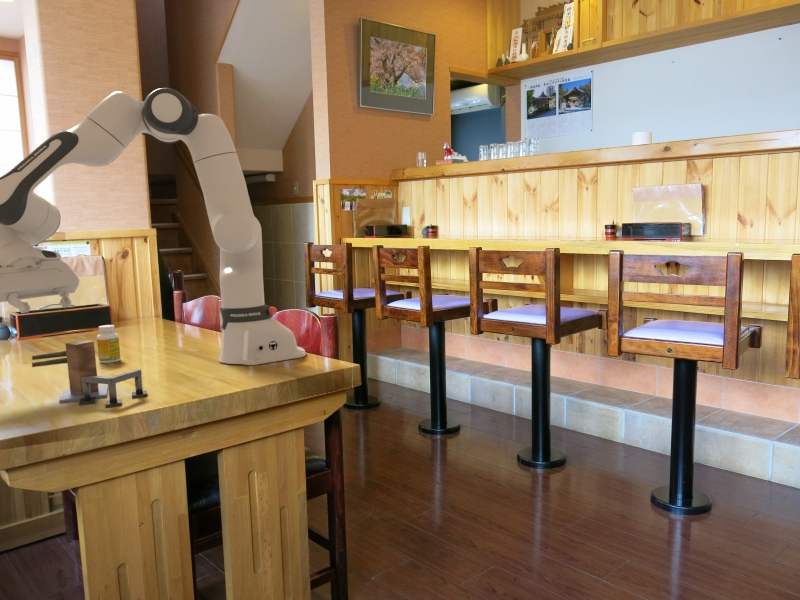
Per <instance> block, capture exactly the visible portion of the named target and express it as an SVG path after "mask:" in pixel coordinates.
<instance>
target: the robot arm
mask: <svg viewBox="0 0 800 600" xmlns="http://www.w3.org/2000/svg"><path fill="white" fill-rule="evenodd" d="M139 135H143V136H145V137H147V138H150V139H152V140H155V141H156V142H160V143H161V144H166V145H167V144H176V143H179V142H180V141H182V142H183V143H184V144H185V145H186V146H187V148H188V151H189V152H190V155H191V158H192V163H193V165H194V168H195V172H196V175H197V178H198V181H199V185H200V188H201V191H202V194H203V199H204V203H205V208H206V213H207V217H208V220H209V225H210V229H211V232H212V236H213V239H214V242H215V244H216V245H217V247H218V248H219V255H220V257H219V259H220V260H219V261H220V262H219V287H220V288H219V289H220V290H219V291H220V303H221V304H220V305H221V306H220V308H219V310H220V311H219V321H220V326H221V327H220V328H221V329H222V331H221V332H222V333H221V334H222V335H221V336H222V337H221V346H220V347H221V348H220V349H221V350H220V354H219V357H218V358H219V359H218V361H219V362H220V363H222V364H228V365H245V366H256V365H261V364H268V363H274V362H280V361H286V360H292V359H293V360H294V359H298V358H303V357H305V356H307V355H306V350H305V349H304V348H303V347H301V346H298V345H297V340H296V336H295V334H294V332H293V331H292V330H291V329H290V328H289V327H287V326H286V325H284V324H282V323H281V322H280V321H278V320H276V319H275V318H273V317H274V315H276V314H277V313H278V309H277V308H276V306H270V305H268V304H266V303H265V290H264V270H263V267H264V265H263V264H264V263H263V262H264V261H263V259H264V258H263V236H262V235H263V233H262V231H263V230H262V226H261V223H260V221H259V220H258V218H257V217H256V216H255V215H254V211H253V208H252V204H251V199H250V195H249V192H248V187H247V183H246V179H245V176H244V173H243V170H242V169H243V168H242V166H241V163H240V159H239V156H238V153H237V150H236V147H235V144H234V141H233V138H232V136H231V134H230V132H229V130H228V128H227V125H226V124H225V122H224V120H223V119H222V118H221V117H220V116H218V115H216V114H213V113H201V114H199V112H198V109H196V107H195V106H194V105H193V104H192V103H190V101H189V100H188V99H187V98H186V97H185V96H184V95H183V94H181V93H180V92H179V91H177V90H176V89H173V88H169V87H162V88H157V89H155V90H153V91H152V92H150V93H149V94H148V95H147V96H146V98H145V100H144V101H142V100H140V99H137V98H136V97H135V96H133V95H131V94H129V93H128V92H124V91H120V90H119V91H113V92H112V93H110V94H109V95H108V96H105V98H104V99H102V100H101V101H100V102H99V103H97V104H96V105H95V106H94V107H93V108H92V109H91V110H90V111H89V112H88V114H87V115H85V117H84V118H83V119H82V120H80V122H78V124H76V125H74V126H73V127H72V128H70V129H67V130H60V131H58V132H56V133H54V134H52V135H51V136H50V137H48V139H46V140H44V142H42V143H41V144H40V145H39V146H37V147H36V148H35V149H34V150H32V151H31V153H29V154H28V155H26V157H25V158H23V159H22V160H20V162H18V163H17V164H16V165H15V166H14V167H13V168H12V169H10V170H9V171H8V172H7V173H5V174H4V175H2V176H0V303H4V302H5V303H6V302H7V303H8V305H10V306H12V307H13V308H16V309H18V311H19V312H20V313H21V314H27V313H30V310H31V305H29V303H28V301H22V300H29V299H36V298H44V297H51V296H58V295H59V296H60V298H61V300H60V302H59V304H60V305H61V307H62V308H67V307H70V306H71V304H72V300H71V299H70V297H69V295H70V294H73V293H75V292H76V290H77V289H78V287H79V285H80V279H79V277H78V275H77V274H76V273H75V272H74V270H73V268H72V267H71V266H70V265H69V264H68V263H67V262H64V261H63V260H62V255H61V253H60V252H57V251H52V250H46V249H43V248H39V247H36V246H38V245H39V244H41V243H42V242H44V241H46V240H47V239H49V238H50V237H52V236H53V235H54V234H55V233H56V232H58V231H57V230H59V228H60V224H61V212H60V211H59V208H58V207H57V206H55V205H53V204H52V203H51V202H50V201H48V200H46V199H45V198H43V196H40V195H39V194H37V193H36V192H34V190H35V189H36V188H37V187H38V186H39V185H40V184H41V183H43V182H44V181H45V180H46V179H47V178H48V177H49V176H50V175H52V174H53V173H54V172H55V171H56V170H57V169H59V168H61V167H63V166H64V165H69V164H75V165H76V164H78V165H82V166H83V165H84V166H86V167H87V166H88V167H93V168H94V167H95V168H96V167H97V168H98V167H99V168H100V167H106V166H109V165H110V164H112V163H113V162H115V161H116V160H117V159H118V158H119V157H120V156H121V154H123V152H124V151H125V150H126V148H128V146H129V145H130V143H132V141H133V140H135V138H136V137H137V136H139Z"/></svg>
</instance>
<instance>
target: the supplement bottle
mask: <svg viewBox="0 0 800 600" xmlns="http://www.w3.org/2000/svg"><path fill="white" fill-rule="evenodd" d="M115 327H116V326H115V325H114V324H105V325H99V326H98V332H99V334H97V336H96V343H97V344H96V345H97V354H98V362H99V363H101V364H112V363H117V362H119V361H121V350H120V349H121V348H120V339H119V334H118V333H117V332H115V331H116V328H115Z"/></svg>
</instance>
